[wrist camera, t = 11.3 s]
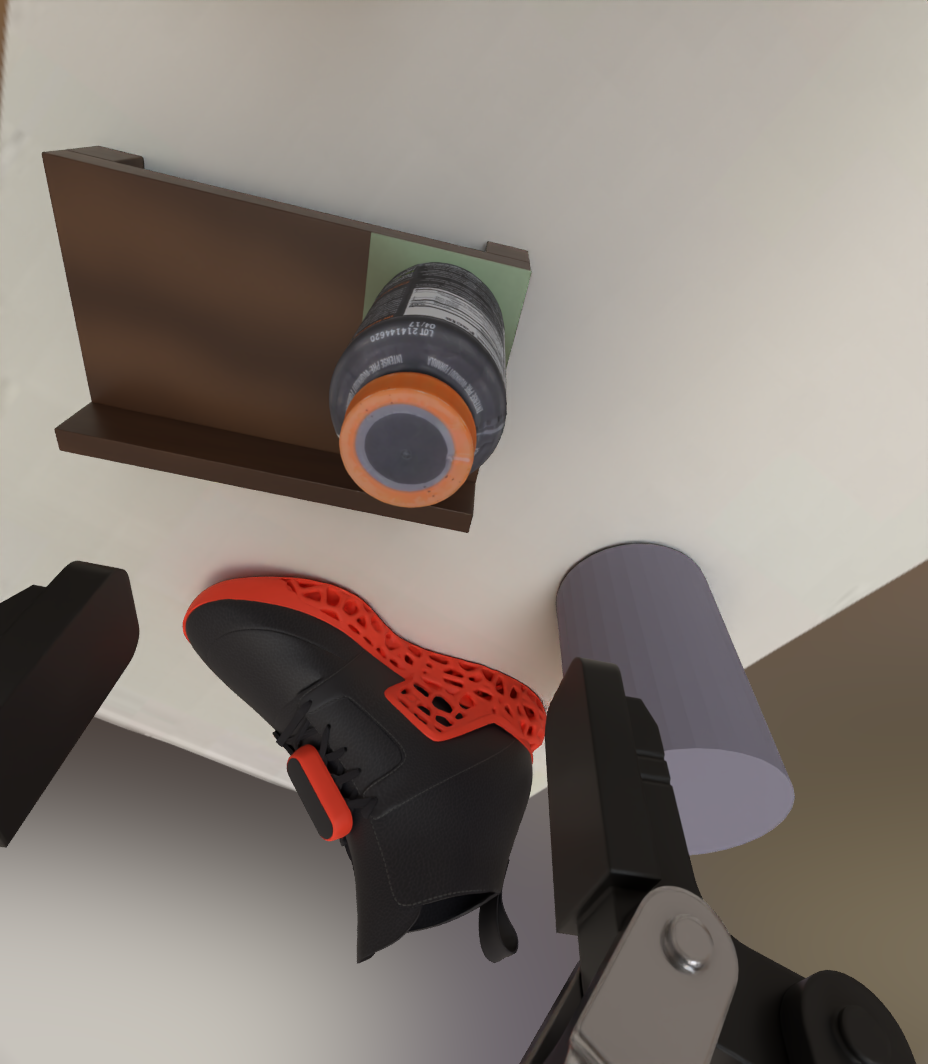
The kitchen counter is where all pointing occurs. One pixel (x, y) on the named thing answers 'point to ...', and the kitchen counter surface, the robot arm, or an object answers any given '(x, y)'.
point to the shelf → (232, 326)
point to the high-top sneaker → (383, 748)
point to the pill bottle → (422, 386)
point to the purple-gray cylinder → (680, 686)
